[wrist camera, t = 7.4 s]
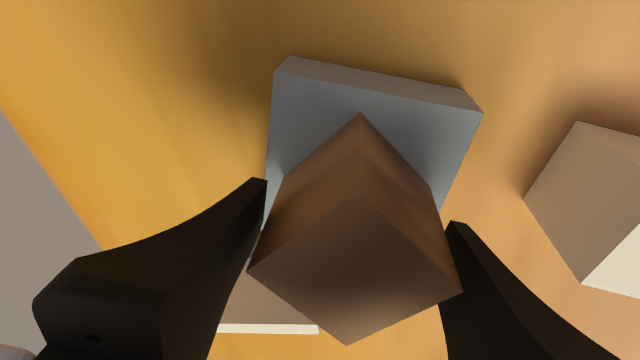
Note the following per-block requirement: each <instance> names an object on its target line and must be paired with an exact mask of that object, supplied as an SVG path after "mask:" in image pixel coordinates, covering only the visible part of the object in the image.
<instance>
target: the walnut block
mask: <svg viewBox="0 0 640 360" xmlns="http://www.w3.org/2000/svg"><path fill="white" fill-rule="evenodd" d="M246 273H247V274H249V275H250V276H251V277H253V278H254V279H255V280H257V281H258V282H260V283H261V284H262V285H264V286H265V287H266V288H268V289H269V290H270V291H272V292H273V293H275V294H276V295H277V296H279V297H280V298H281V299H283V300H284V301H285V302H287V303H288V304H290V305H291V306H292V307H294V308H295V309H296V310H298V311H299V312H300V313H302V314H303V315H305V316H306V317H307V318H309V319H310V320H311V321H313V322H314V323H315V324H317V325H318V326H320V327H321V328H322V329H324V330H325V331H326V332H328V333H329V334H330V335H332V336H333V337H334V338H336V339H337V340H339V341H340V342H341V343H343V344H344V345H345V346H348V345H350V344H352V343H354V342H356V341H358V340H360V339H363V338H365V337H367V336H369V335H371V334H373V333H376V332H378V331H380V330H382V329H384V328H386V327H389V326H391V325H393V324H395V323H397V322H399V321H402V320H404V319H406V318H408V317H410V316H412V315H415V314H417V313H419V312H421V311H423V310H425V309H427V308H430V307H432V306H434V305H436V304H438V303H440V302H443V301H445V300H447V299H449V298H451V297H453V296H456V295H458V294H460V293H462V292H463V288H462V285H461V282H460V279H459V276H458V273H457V270H456V267H455V263H454V260H453V257H452V254H451V251H450V248H449V245H448V241H447V238H446V235H445V232H444V229H443V226H442V223H441V219H440V216H439V213H438V210H437V207H436V204H435V201H434V197H433V194H432V191H431V188H430V186H429V185H428V184H427V183H426V182H425V180H424V179H423V178H422V177H421V176H420V175H419V174H418V173H417V172H416V171H415V170H414V169H413V168H412V167H411V165H410V164H409V163H408V162H407V161H406V160H405V159H404V158H403V157H402V156H401V155H400V154H399V153H398V152H397V150H396V149H395V148H394V147H393V146H392V145H391V144H390V143H389V142H388V141H387V140H386V139H385V138H384V137H383V135H382V134H381V133H380V132H379V131H378V130H377V129H376V128H375V127H374V126H373V125H372V124H371V123H370V122H369V120H368V119H367V118H366V117H365V116H364V115H363V114H362V113H361V112H359V113H358V114H357V115H356V116H354V117H353V118H352V119H351V120H350V121H349V122H347V123H346V124H345V125H344V126H343V127H342V128H340V129H339V130H338V131H337V132H336V133H335V134H333V135H332V136H331V137H330V138H329V139H328V140H326V141H325V142H324V143H323V144H322V145H321V146H319V147H318V148H317V149H316V150H315V151H314V152H312V153H311V154H310V155H309V156H308V157H307V158H305V159H304V160H303V161H302V162H301V163H300V164H298V165H297V166H296V167H295V168H294V169H293V170H291V171H290V172H289V173H288V174H287V175H286V176H284V177H283V180H282V182H281V185H280V187H279V190H278V192H277V195H276V197H275V200H274V202H273V205H272V207H271V210H270V212H269V215H268V217H267V220H266V222H265V225H264V227H263V230H262V232H261V235H260V237H259V240H258V242H257V245H256V247H255V250H254V252H253V255H252V257H251V259H250V262H249V264H248V267H247V269H246Z"/></svg>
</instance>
